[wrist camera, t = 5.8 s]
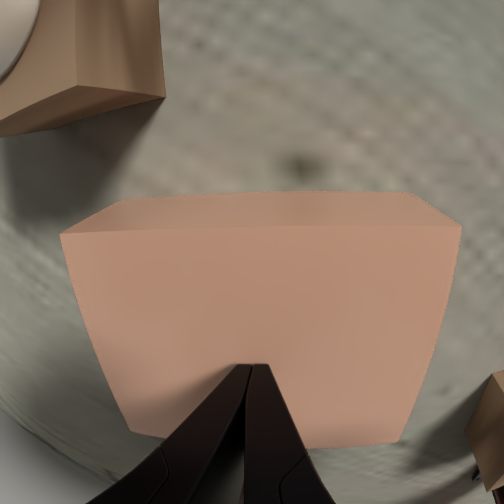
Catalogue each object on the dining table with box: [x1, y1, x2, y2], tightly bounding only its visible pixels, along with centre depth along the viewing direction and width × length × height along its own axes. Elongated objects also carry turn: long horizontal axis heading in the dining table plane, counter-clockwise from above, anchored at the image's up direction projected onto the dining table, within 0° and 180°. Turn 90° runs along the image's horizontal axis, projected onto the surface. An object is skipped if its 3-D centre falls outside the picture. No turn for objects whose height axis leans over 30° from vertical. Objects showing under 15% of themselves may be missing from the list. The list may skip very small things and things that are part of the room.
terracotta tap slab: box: [59, 191, 462, 449], centre depth 10 cm, size 8×10×4 cm
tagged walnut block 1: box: [0, 0, 166, 138], centre depth 6 cm, size 5×5×5 cm
